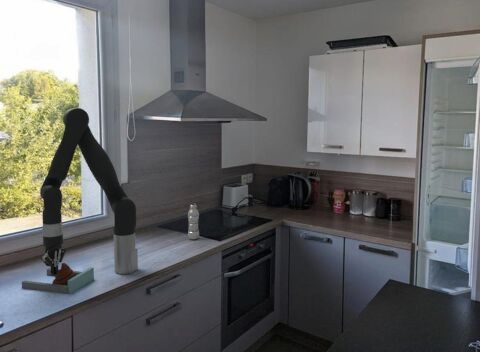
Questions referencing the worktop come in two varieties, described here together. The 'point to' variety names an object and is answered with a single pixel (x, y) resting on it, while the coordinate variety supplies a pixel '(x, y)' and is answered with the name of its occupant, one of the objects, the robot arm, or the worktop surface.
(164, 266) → the worktop surface
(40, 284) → the channel
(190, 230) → the plastic bottle
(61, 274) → the poop emoji
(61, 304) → the worktop surface
